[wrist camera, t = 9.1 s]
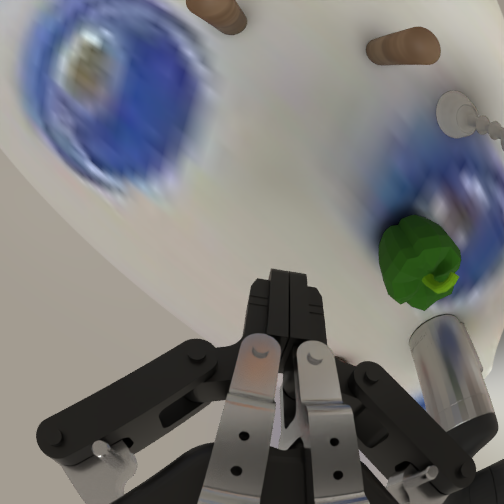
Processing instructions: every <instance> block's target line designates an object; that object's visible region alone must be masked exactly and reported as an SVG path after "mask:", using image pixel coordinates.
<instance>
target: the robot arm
mask: <svg viewBox="0 0 504 504" xmlns="http://www.w3.org/2000/svg"><path fill="white" fill-rule="evenodd" d="M409 346H410V349H411V353H412V356H413V359H414V363H415V367H416V370H417V374H418V378H419V381H420V385H421V389H422V393H423V397H424V401H425V406H426V410H427V412H426V411H425V410H424V409H423V408H422V407H421V406H420V405H419V404H418V403H417V402H416V401H415V400H414V399H413V398H412V397H411V396H410V395H409V394H408V393H407V392H406V391H405V390H404V389H403V388H402V387H401V386H400V385H399V384H398V383H397V382H396V381H395V380H394V379H393V378H392V377H391V376H390V375H389V374H388V373H387V372H386V371H385V370H384V369H383V368H382V367H381V366H380V365H378V364H377V363H374V362H370V361H365V362H362V363H360V364H358V365H357V366H353V365H351V364H348V363H345V362H343V361H341V360H339V359H337V358H336V357H335V356H334V354H333V352H332V350H331V349H330V348H329V347H328V346H327V339H326V329H325V320H324V311H323V302H322V296H321V295H320V293H319V292H318V290H317V288H315V287H308V286H307V276H306V274H302V273H296V272H290V271H289V273H288V271H283V270H277V269H271V271H270V275H269V279H268V280H264V279H258V278H257V279H256V281H255V282H254V283H253V284H252V285H251V289H250V295H249V300H248V305H247V311H246V317H245V324H244V331H243V337H242V338H241V340H240V341H238V342H237V343H236V344H234V345H231V346H227V347H218V348H215V347H214V346H213V345H212V344H211V343H209V342H208V341H205V340H202V339H190V340H187V341H185V342H183V343H181V344H180V345H178V346H176V347H175V348H173V349H171V350H170V351H168V352H167V353H165V354H163V355H161V356H160V357H158V358H156V359H154V360H153V361H151V362H150V363H148V364H146V365H144V366H142V367H141V368H139V369H137V370H135V371H134V372H132V373H130V374H128V375H127V376H125V377H123V378H121V379H120V380H118V381H116V382H114V383H112V384H111V385H109V386H107V387H105V388H103V389H102V390H100V391H98V392H96V393H94V394H92V395H91V396H89V397H87V398H85V399H83V400H81V401H79V402H78V403H76V404H74V405H72V406H70V407H68V408H66V409H64V410H62V411H61V412H59V413H57V414H55V415H53V416H51V417H49V418H47V419H45V420H44V421H42V422H41V424H40V425H39V427H38V429H37V433H36V438H37V443H38V445H39V447H40V449H41V450H42V451H43V453H45V454H46V455H47V456H49V457H50V458H52V459H53V460H55V461H56V462H57V463H58V464H60V465H61V466H62V468H63V470H64V471H65V473H66V475H67V476H68V478H69V479H70V481H71V483H72V484H73V486H74V487H75V489H76V490H77V492H78V493H79V495H80V496H81V498H82V499H83V500H84V501H85V503H86V504H504V459H502V460H500V461H498V462H496V463H494V464H492V465H491V466H488V467H486V468H484V469H482V470H480V471H478V472H476V466H475V463H474V461H473V459H472V457H473V456H474V455H475V454H476V453H477V452H478V451H479V450H480V449H481V448H482V447H484V446H485V445H486V444H487V443H488V442H489V441H490V440H491V439H492V438H493V437H494V436H495V435H496V433H497V431H498V422H497V419H496V415H495V412H494V409H493V406H492V402H491V399H490V396H489V393H488V391H487V388H486V385H485V382H484V379H483V376H482V374H481V373H482V371H483V367H482V364H481V362H480V359H479V357H478V355H477V352H476V350H475V348H474V345H473V343H472V341H471V338H470V336H469V334H468V332H467V330H466V328H465V325H464V323H460V322H459V320H458V318H456V317H455V316H453V315H442V316H438V317H436V318H433V319H431V320H429V321H427V322H426V323H424V324H423V325H421V326H420V327H419V328H418V329H417V330H416V331H415V332H414V333H413V335H412V337H411V339H410V342H409ZM278 373H283V383H282V385H281V387H280V409H281V435H280V439H279V446H278V449H277V448H274V447H270V441H271V435H272V429H273V423H274V416H275V409H276V408H275V407H276V402H274V398H275V390H276V384H277V377H278ZM220 400H226V401H225V405H224V409H223V413H222V417H221V420H220V424H219V428H218V432H217V435H216V439H215V442H213V443H207V444H203V445H200V446H197V447H195V448H192V449H191V450H189V451H187V452H185V453H184V454H182V455H181V456H180V457H178V458H177V459H176V460H174V461H173V462H172V463H170V464H169V465H168V466H166V467H165V468H164V469H162V470H161V471H159V472H158V473H156V474H155V475H153V476H152V477H150V478H149V479H148V480H146V481H145V482H143V483H142V484H140V485H139V486H137V487H135V488H134V489H132V490H131V491H129V492H128V493H126V494H124V486H125V483H126V482H127V481H128V480H129V479H130V478H131V477H132V476H133V475H134V474H135V472H136V470H137V460H136V458H135V455H134V454H135V453H137V452H139V451H140V450H142V449H144V448H145V447H147V446H148V445H150V444H151V443H153V442H155V441H156V440H158V439H159V438H161V437H162V436H164V435H165V434H167V433H168V432H170V431H171V430H173V429H174V428H176V427H177V426H179V425H180V424H182V423H183V422H185V421H186V420H187V419H189V418H190V417H191V416H193V415H195V414H196V413H198V412H199V411H200V410H202V409H203V408H204V407H206V406H207V405H209V404H210V403H211V402H212V401H220ZM359 450H360V451H361V452H362V453H363V454H364V455H365V456H366V457H367V458H368V459H369V460H370V461H371V463H372V464H373V465H374V466H375V467H376V468H377V469H378V470H379V471H380V472H381V473H382V474H383V475H384V476H385V477H386V478H387V479H388V483H387V486H386V488H385V487H384V486H383V485H382V483H381V482H380V481H379V480H378V479H377V478H376V477H375V475H374V474H373V473H372V472H371V471H370V470H369V469H368V467H367V466H366V465H365V464H364V463H362V462H361V461H360V456H359Z"/></svg>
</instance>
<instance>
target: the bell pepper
mask: <svg viewBox="0 0 504 504" xmlns="http://www.w3.org/2000/svg"><path fill="white" fill-rule="evenodd" d="M460 262H461V255H460V250H459V248H458V247H457V246H456V245H455V243H454V242H453V241H452V239H451V238H450V237H449V236H448V235H447V233H446V232H445V231H444V230H443V229H442V227H441V226H439V225H438V224H436V223H434V222H433V221H431V220H429V219H427V218H425V217H421V216H418V215H410V216H408V217H405V218H402V219H401V220H400V222H399V224H398V225H394V226H390V227H389V228H388V229H386V230H385V232H384V233H383V236H382V239H381V241H380V244H379V264H380V268H381V272H382V276H383V281H384V284H385V286H386V289H387V292H388V295H390V296H391V297H392V298H393V299H394V300H395V301H397V302H398V303H399V304H402V303H405V302H407V303H408V304H409V305H411V306H412V307H415V308H418V309H421V310H423V311H425V310H426V309H427V308H429V307H430V306H431V305H432V304H433V303H435V302H436V301H437V300H439V299H441V298H444V297H446V296H448V295H450V294H452V291H453V288H454V285H455V283H456V282H457V280H458V278H459V276H457V275H456V274H455V272H456V271H457V270H458V269H459V266H460Z"/></svg>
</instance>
